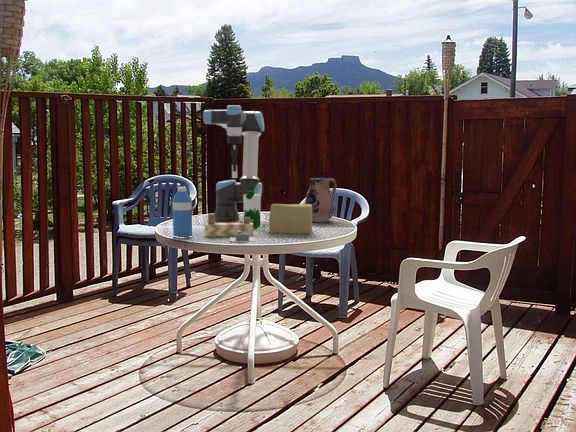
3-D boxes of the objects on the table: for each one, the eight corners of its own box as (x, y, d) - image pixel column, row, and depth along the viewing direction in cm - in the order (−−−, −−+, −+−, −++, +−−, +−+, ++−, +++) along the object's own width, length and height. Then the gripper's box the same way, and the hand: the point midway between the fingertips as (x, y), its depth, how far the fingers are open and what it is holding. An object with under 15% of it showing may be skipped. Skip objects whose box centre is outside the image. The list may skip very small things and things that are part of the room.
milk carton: (241, 227, 342) (241, 191, 339) (248, 225, 350) (247, 189, 348) (256, 228, 339) (256, 191, 336) (262, 226, 348) (262, 190, 345)
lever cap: (236, 241, 301) (236, 232, 300) (236, 237, 311) (236, 229, 310) (248, 240, 301) (248, 232, 301) (248, 237, 311) (248, 228, 311)
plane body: (205, 236, 314) (204, 215, 313) (205, 234, 320) (205, 213, 319) (253, 236, 317) (253, 214, 315) (252, 234, 322) (252, 212, 321)
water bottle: (174, 235, 318) (173, 186, 314) (192, 235, 319) (191, 186, 315) (172, 238, 309) (171, 188, 305) (191, 238, 309) (190, 188, 306)
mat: (230, 242, 299) (230, 241, 299) (230, 237, 311) (230, 237, 311) (255, 242, 301) (255, 241, 300) (254, 237, 312) (254, 236, 312)
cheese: (268, 233, 323) (268, 205, 321) (270, 230, 333) (270, 202, 331) (311, 234, 321) (311, 205, 319) (312, 231, 331) (312, 203, 329)
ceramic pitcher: (297, 221, 365) (298, 178, 361) (321, 217, 380) (321, 176, 377) (321, 224, 353) (321, 180, 350) (344, 220, 368) (344, 178, 365)
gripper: (227, 135, 336) (227, 174, 339) (226, 136, 311) (227, 178, 314) (241, 135, 337) (241, 174, 340) (241, 136, 312) (242, 178, 315)
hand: (234, 176), depth 327 cm, fingers open, 13 cm apart
